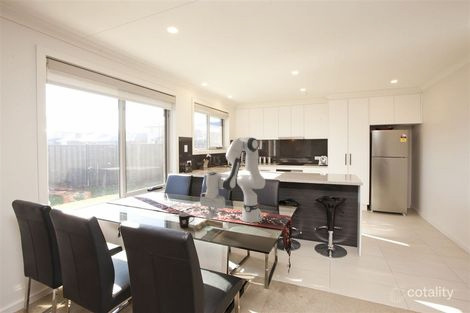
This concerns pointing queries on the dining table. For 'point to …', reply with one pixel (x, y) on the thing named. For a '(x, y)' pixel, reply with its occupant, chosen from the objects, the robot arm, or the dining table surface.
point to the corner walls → (208, 222)
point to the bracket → (211, 214)
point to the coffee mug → (184, 220)
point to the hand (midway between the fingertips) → (212, 212)
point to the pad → (207, 228)
